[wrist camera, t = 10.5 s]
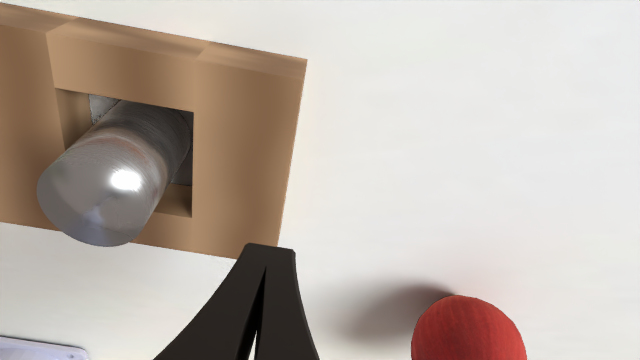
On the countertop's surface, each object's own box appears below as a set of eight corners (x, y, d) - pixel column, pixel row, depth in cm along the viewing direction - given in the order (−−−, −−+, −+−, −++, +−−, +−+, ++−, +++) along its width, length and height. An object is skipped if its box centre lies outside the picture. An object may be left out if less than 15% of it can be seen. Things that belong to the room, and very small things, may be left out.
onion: (421, 339, 29) (444, 473, 22) (390, 281, 26) (407, 414, 20) (511, 317, 28) (565, 454, 21) (489, 253, 25) (543, 387, 18)
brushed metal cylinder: (114, 163, 23) (49, 240, 18) (102, 89, 21) (24, 153, 16) (192, 173, 23) (150, 252, 18) (189, 100, 21) (139, 167, 16)
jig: (22, 191, 24) (-8, 220, 22) (-24, -2, 19) (-70, 11, 16) (279, 233, 25) (273, 265, 23) (307, 59, 19) (302, 79, 17)
